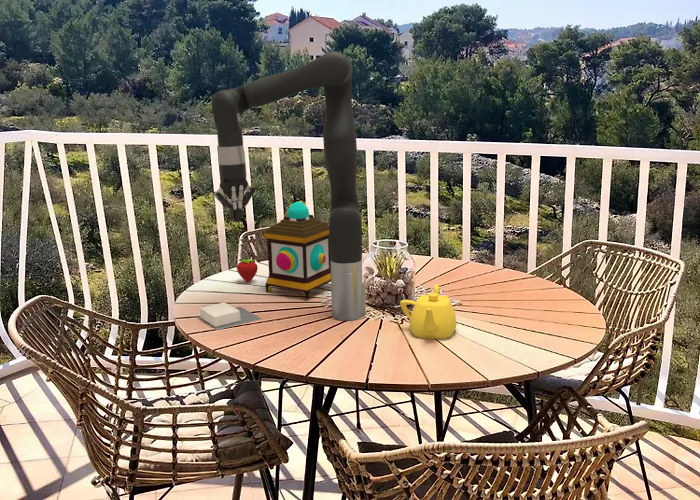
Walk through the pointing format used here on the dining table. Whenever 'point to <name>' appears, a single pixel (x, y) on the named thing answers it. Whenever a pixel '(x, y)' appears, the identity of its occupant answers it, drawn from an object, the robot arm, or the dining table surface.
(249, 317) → the mat
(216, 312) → the block
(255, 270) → the strawberry
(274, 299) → the dining table surface
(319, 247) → the decorative lantern
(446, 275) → the dining table surface
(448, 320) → the teapot
